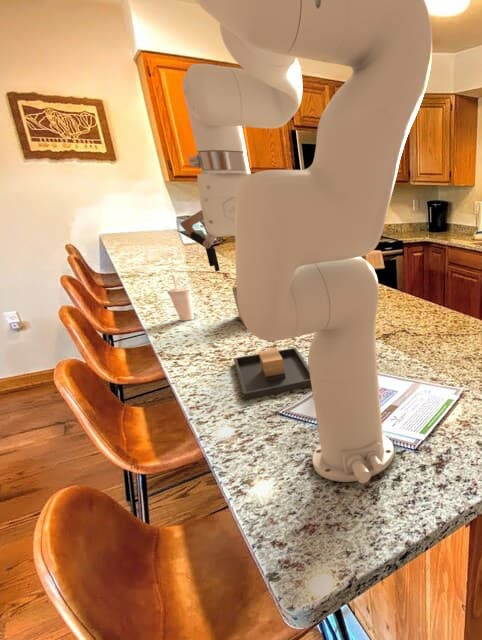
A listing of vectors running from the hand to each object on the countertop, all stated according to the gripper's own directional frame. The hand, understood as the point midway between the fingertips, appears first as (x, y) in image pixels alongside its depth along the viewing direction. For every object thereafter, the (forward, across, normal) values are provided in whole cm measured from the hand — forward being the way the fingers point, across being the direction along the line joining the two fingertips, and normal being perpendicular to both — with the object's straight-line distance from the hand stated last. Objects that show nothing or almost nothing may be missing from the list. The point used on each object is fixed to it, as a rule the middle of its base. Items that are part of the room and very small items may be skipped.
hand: (246, 267), depth 79 cm
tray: (+25, +2, +7) cm, 26 cm away
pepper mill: (+24, +4, +60) cm, 65 cm away
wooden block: (+25, +2, +7) cm, 26 cm away
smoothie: (+24, -16, +67) cm, 73 cm away
